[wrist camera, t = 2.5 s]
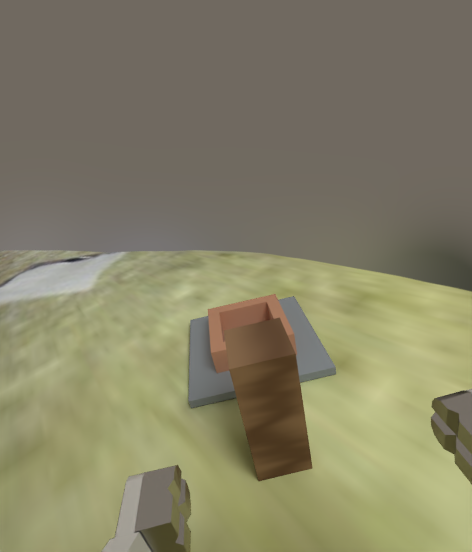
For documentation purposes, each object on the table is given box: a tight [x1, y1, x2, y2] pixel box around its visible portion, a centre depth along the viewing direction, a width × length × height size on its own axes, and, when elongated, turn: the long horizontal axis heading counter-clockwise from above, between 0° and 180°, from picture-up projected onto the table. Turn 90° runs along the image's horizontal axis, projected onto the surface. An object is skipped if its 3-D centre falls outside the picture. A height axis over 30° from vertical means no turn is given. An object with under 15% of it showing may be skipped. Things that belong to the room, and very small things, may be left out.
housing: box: [189, 294, 336, 408], centre depth 41 cm, size 16×16×4 cm
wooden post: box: [224, 318, 312, 481], centre depth 26 cm, size 4×4×12 cm
